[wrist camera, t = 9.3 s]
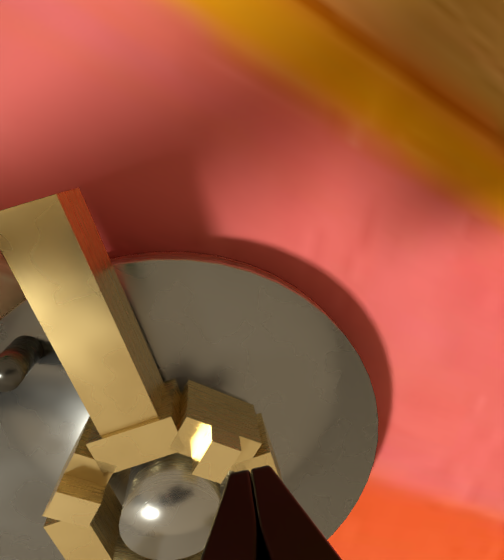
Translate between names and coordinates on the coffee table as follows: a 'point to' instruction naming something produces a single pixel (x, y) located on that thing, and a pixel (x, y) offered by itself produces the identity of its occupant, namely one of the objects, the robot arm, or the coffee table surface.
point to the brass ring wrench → (113, 380)
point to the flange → (181, 367)
